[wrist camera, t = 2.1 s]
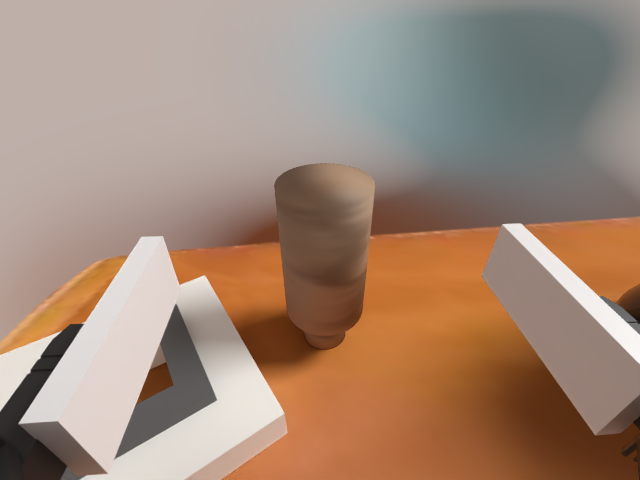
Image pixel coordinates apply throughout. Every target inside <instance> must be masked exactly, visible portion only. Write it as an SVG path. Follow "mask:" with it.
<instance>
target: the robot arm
mask: <svg viewBox="0 0 640 480" xmlns="http://www.w3.org/2000/svg"><path fill="white" fill-rule="evenodd" d="M482 277H483V279H484V280H485V282H486V283H487V284H488V286H489V287H490V289H491V290H492V291H493V293H494V294H495V296H496V297H497V298H498V300H499V301H500V303H501V304H502V306H503V307H504V308H505V310H506V311H507V313H508V314H509V315H510V317H511V318H512V320H513V321H514V322H515V324H516V325H517V327H518V328H519V329H520V331H521V332H522V334H523V335H524V336H525V338H526V339H527V341H528V342H529V343H530V345H531V346H532V348H533V349H534V350H535V352H536V353H537V355H538V356H539V357H540V359H541V360H542V362H543V363H544V364H545V366H546V367H547V369H548V370H549V371H550V373H551V374H552V376H553V377H554V378H555V380H556V381H557V383H558V384H559V385H560V387H561V388H562V390H563V391H564V392H565V394H566V395H567V397H568V398H569V399H570V401H571V402H572V404H573V405H574V407H575V408H576V409H577V411H578V412H579V414H580V415H581V416H582V418H583V419H584V421H585V422H586V423H587V425H588V426H589V428H590V429H591V430H592V432H593V433H594V435H606V434H619V433H622V432H623V431H624V430H625V429H626V428H628V427H629V426H630V425H631V424H632V423H635V424H636V426H637V427H638V428H639V429H640V284H639V285H637V286H635V287H633V288H632V289H630V290H628V291H627V292H626V293H625V294H623V295H622V296H621V298H620V299H619V300H618V302H617V303H616V304H615V303H614V302H612V301H610V300H609V299H607V298H605V297H604V296H598V295H597V294H596V293H595V292H593V291H592V290H591V289H590V288H589V287H588V286H587V285H586V284H585V283H584V282H583V281H582V280H581V279H580V278H578V277H577V276H576V275H575V274H574V273H573V272H572V271H571V270H570V269H569V268H568V267H567V266H566V265H565V264H563V263H562V262H561V261H560V260H559V259H558V258H557V257H556V256H555V255H554V254H553V253H552V252H551V251H550V250H548V249H547V248H546V247H545V246H544V245H543V244H542V243H541V242H540V241H539V240H538V239H537V238H536V237H535V236H533V235H532V234H531V233H530V232H529V231H528V230H527V229H526V228H525V227H524V226H523V225H522V224H502V226H501V229H500V231H499V234H498V236H497V239H496V241H495V244H494V246H493V249H492V251H491V254H490V256H489V259H488V261H487V264H486V266H485V269H484V271H483V274H482ZM180 291H181V289H180V286H179V283H178V280H177V277H176V274H175V271H174V268H173V265H172V262H171V259H170V256H169V253H168V250H167V248H166V244H165V242H164V239H163V236H158V237H141V239H140V240H139V242H138V243H137V245H136V246H135V248H134V249H133V251H132V252H131V254H130V255H129V257H128V258H127V260H126V261H125V263H124V264H123V266H122V267H121V269H120V270H119V272H118V273H117V275H116V276H115V278H114V279H113V281H112V282H111V284H110V286H109V287H108V289H107V290H106V292H105V293H104V295H103V296H102V298H101V299H100V301H99V302H98V304H97V305H96V307H95V308H94V310H93V311H92V313H91V314H90V316H89V317H88V319H87V320H86V322H85V323H84V324H70V325H69V326H68V327H67V328H65V329H64V330H63V331H62V332H61V333H59V334H58V335H57V336H56V337H55V338H53V339H52V341H51V342H50V344H49V345H48V346H47V348H46V349H45V350H44V352H43V353H42V355H41V358H40V359H38V360H37V361H36V363H35V364H34V366H33V367H32V368H31V370H30V371H31V372H30V373H29V374H27V375H26V377H25V378H24V379H23V381H22V382H21V384H20V385H19V386H18V388H17V389H16V390H15V392H14V393H13V395H12V396H11V397H10V399H9V400H8V401H7V403H6V404H5V406H4V407H3V408H2V410H1V411H0V480H61V478H62V476H63V474H64V472H65V470H66V468H68V469H69V470H71V471H72V472H73V473H74V474H75V475H76V476H87V475H99V474H108V473H109V471H110V468H111V466H112V463H113V461H114V458H115V456H116V453H117V451H118V448H119V446H120V443H121V440H122V438H123V435H124V433H125V430H126V428H127V425H128V423H129V420H130V418H131V415H132V413H133V410H134V408H135V405H136V402H137V400H138V397H139V395H140V392H141V390H142V387H143V385H144V382H145V380H146V377H147V375H148V372H149V369H150V367H151V364H152V362H153V359H154V357H155V354H156V352H157V349H158V347H159V344H160V342H161V339H162V337H163V334H164V331H165V329H166V326H167V324H168V321H169V319H170V316H171V314H172V311H173V309H174V306H175V304H176V301H177V298H178V296H179V293H180ZM635 449H637V456H636V457H635V458H634V459H633V461H635V462H637V463H638V474H639V480H640V434H639V435H638V436H637V437H635V438H634V439H633V440H632V441H630V442H629V443H628V444H627V445H625V446H624V447H623V448H622V452H621V454H622V455H624V456H627V455H629V454H630V453H631V452H633V451H634V450H635Z"/></svg>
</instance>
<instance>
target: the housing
mask: <svg viewBox="0 0 640 480" xmlns="http://www.w3.org/2000/svg"><path fill="white" fill-rule="evenodd" d="M179 286H180V289H181V291H180V293H179V296H178V298H177V301H176V304H175V306H174V309H173V311H172V314H171V316H170V319H169V321H168V324H167V326H166V329H165V331H164V334H163V337H162V339H161V342H160V344H159V347H158V349H157V352H156V354H155V357H154V359H153V362H152V364H151V367H150V369H149V370H151V369H153V368H155V367H157V366H159V365H161V364H163V363H165V362H166V364H167V367H168V370H169V373H170V376H171V379H172V382H173V386H171V387H169V388H167V389H165V390H163V391H161V392H159V393H157V394H155V395H153V396H151V397H150V398H148V399H146V400H144V401H142V402H140V403H138V404H136V405H135V408H134V410H133V413H132V415H131V418H130V420H129V423H128V425H127V428H126V430H125V433H124V435H123V438H122V440H121V443H120V446H119V448H118V451H117V453H116V456H115V458H114V461H113V463H112V466H111V468H110V471H109V473H108V474H99V475H87V476H76V475H75V474H74V473H73V472H72V471H71V470H69V469H68V468H66V470H65V472H64V474H63V476H62V478H61V480H221V479H223V478H224V477H225V476H227V475H228V474H230V473H231V472H233V471H234V470H235V469H237V468H238V467H240V466H241V465H243V464H244V463H246V462H247V461H248V460H250V459H251V458H253V457H254V456H256V455H257V454H259V453H260V452H261V451H263V450H264V449H266V448H267V447H269V446H270V445H272V444H273V443H274V442H276V441H277V440H279V439H280V438H282V437H283V436H284V435H286V434H287V426H286V420H285V413H284V412H283V410H282V408H281V406H280V405H279V403H278V401H277V400H276V398H275V396H274V394H273V393H272V391H271V389H270V387H269V386H268V384H267V382H266V380H265V379H264V377H263V375H262V373H261V372H260V370H259V368H258V367H257V365H256V363H255V361H254V360H253V358H252V356H251V354H250V353H249V351H248V349H247V347H246V346H245V344H244V342H243V340H242V339H241V337H240V335H239V334H238V332H237V330H236V328H235V327H234V325H233V323H232V321H231V320H230V318H229V316H228V314H227V313H226V311H225V309H224V308H223V306H222V304H221V302H220V301H219V299H218V297H217V295H216V294H215V292H214V290H213V288H212V287H211V285H210V283H209V281H208V280H207V278H206V276H205V275H204V276H202V277H199V278H197V279H194V280H192V281H189V282H186V283H184V284H181V285H179ZM84 323H85V322H84ZM84 323H81V324H84ZM61 332H62V331H61ZM61 332H58V333H56V334H53V335H51V336H48V337H46V338H43V339H40V340H38V341H35V342H33V343H30V344H28V345H25V346H22V347H20V348H17V349H15V350H12V351H10V352H7V353H5V354H2V355H0V411H1V410H2V408H3V407H4V406H5V404H6V403H7V401H8V400H9V399H10V397H11V396H12V395H13V393H14V392H15V390H16V389H17V388H18V386H19V385H20V384H21V382H22V381H23V379H24V378H25V377H26V375H27V374H29V373H30V372H31V371H30V370H31V368H32V367H33V366H34V364H35V363H36V361H37V360H38V359H40V358H41V355H42V353H43V352H44V350H45V349H46V348H47V346H48V345H49V344H50V342H51V341H52V339H53V338H55V337H56V336H57V335H58V334H59V333H61Z"/></svg>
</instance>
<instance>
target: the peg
mask: <svg viewBox="0 0 640 480" xmlns="http://www.w3.org/2000/svg"><path fill="white" fill-rule="evenodd" d="M274 187H275V197H276V207H277V217H278V227H279V237H280V247H281V257H282V267H283V276H284V286H285V296H286V306H287V313H288V316H289V318H290V320H291V321H292V322H293V324H294V325H295V326H297V327H298V328H299V329H301V330H302V331H304V336H305V339H306V341H307V342H308V343H309V344H310V345H311V346H313V347H315V348H318V349H323V350H324V349H332V348H334V347H336V346H338V345H339V344H340V343H341V342H342V341H343V339H344V337H345V331H347V330H349V329H350V328H352V327H353V326H354V325H355V324H356V323H357V322H358V320H359V319H360V317H361V314H362V309H363V299H364V289H365V279H366V270H367V260H368V250H369V240H370V229H371V221H372V211H373V200H374V190H375V183H374V181H373V179H372V178H371V177H370V176H369V175H368V174H367V173H365V172H363V171H361V170H359V169H357V168H354V167H350V166H346V165H340V164H326V163H324V164H322V163H321V164H310V165H304V166H300V167H296V168H293V169H291V170H288V171H286V172H285V173H283V174H282V175H281V176H279V177H278V178H277V180H276V182H275V185H274Z"/></svg>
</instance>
